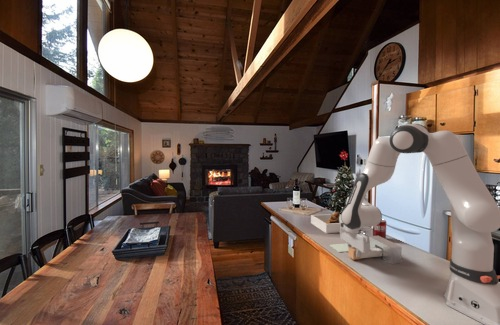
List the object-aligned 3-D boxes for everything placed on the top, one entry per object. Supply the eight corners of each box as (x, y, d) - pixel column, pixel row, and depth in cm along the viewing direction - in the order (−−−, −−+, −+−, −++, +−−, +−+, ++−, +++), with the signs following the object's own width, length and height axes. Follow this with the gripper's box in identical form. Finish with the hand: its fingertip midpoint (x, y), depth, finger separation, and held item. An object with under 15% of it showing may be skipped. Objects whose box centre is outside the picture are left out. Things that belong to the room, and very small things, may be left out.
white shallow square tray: (357, 231, 168) (357, 222, 168) (326, 233, 163) (326, 224, 163) (338, 221, 190) (338, 213, 190) (310, 223, 186) (311, 215, 186)
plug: (382, 256, 126) (383, 247, 126) (353, 259, 122) (353, 250, 122) (377, 253, 130) (377, 244, 130) (348, 256, 126) (348, 247, 126)
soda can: (387, 241, 148) (388, 222, 148) (374, 241, 150) (375, 221, 149) (383, 237, 155) (384, 218, 155) (371, 236, 157) (371, 218, 156)
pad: (372, 249, 137) (372, 248, 137) (339, 252, 133) (339, 251, 133) (360, 242, 147) (360, 242, 147) (329, 245, 143) (329, 244, 143)
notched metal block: (401, 262, 121) (401, 246, 120) (390, 263, 120) (391, 247, 119) (378, 249, 136) (378, 235, 136) (368, 250, 135) (368, 236, 135)
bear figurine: (321, 225, 182) (322, 208, 182) (343, 227, 178) (344, 210, 177) (321, 230, 169) (321, 213, 169) (344, 233, 165) (345, 215, 164)
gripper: (374, 233, 114) (373, 263, 115) (348, 221, 134) (348, 246, 135) (362, 234, 113) (361, 264, 114) (337, 221, 133) (337, 247, 134)
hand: (353, 254), depth 125 cm, fingers closed on plug, 4 cm apart
